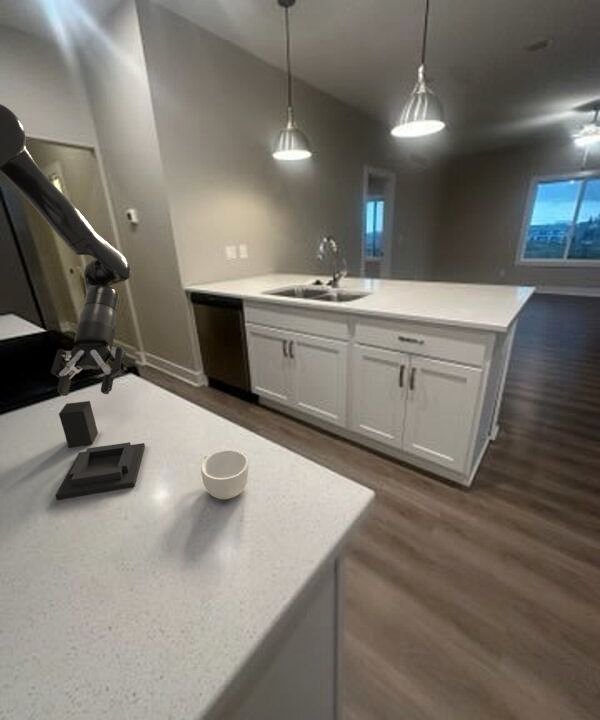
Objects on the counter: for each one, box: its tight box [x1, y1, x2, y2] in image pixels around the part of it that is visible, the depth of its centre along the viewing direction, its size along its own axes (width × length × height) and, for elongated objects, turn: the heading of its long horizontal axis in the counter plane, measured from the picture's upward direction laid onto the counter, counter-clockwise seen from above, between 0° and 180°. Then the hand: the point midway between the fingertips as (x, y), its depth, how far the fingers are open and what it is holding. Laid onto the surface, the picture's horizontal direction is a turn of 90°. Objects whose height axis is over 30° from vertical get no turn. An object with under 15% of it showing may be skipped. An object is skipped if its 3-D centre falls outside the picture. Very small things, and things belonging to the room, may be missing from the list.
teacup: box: [200, 449, 249, 500], centre depth 59 cm, size 10×8×5 cm
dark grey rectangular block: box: [58, 400, 99, 448], centre depth 71 cm, size 4×4×8 cm
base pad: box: [55, 442, 146, 501], centre depth 63 cm, size 12×12×2 cm
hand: (84, 394), depth 74 cm, fingers open, 8 cm apart
